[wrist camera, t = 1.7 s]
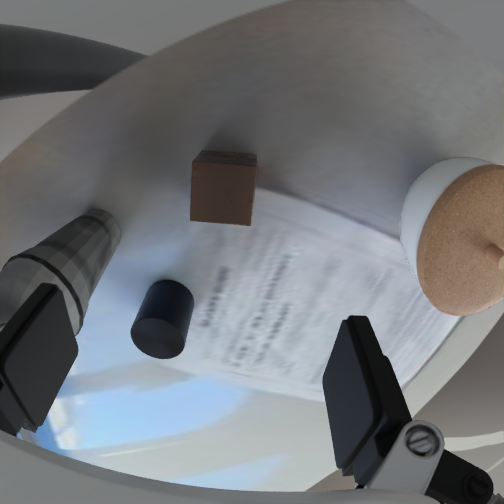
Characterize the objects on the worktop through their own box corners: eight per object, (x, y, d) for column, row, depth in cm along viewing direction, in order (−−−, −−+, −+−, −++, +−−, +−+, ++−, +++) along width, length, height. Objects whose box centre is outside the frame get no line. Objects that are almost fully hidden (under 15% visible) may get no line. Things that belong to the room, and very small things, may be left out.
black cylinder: (149, 316, 34) (134, 355, 28) (145, 277, 31) (126, 314, 26) (194, 321, 34) (185, 362, 28) (194, 282, 31) (183, 321, 26)
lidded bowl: (499, 179, 26) (570, 220, 16) (446, 277, 31) (496, 342, 22) (415, 118, 24) (494, 140, 14) (356, 239, 29) (400, 312, 20)
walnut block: (199, 201, 28) (189, 221, 24) (201, 150, 26) (192, 161, 22) (251, 205, 28) (251, 226, 24) (256, 154, 26) (257, 166, 22)
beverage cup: (93, 273, 31) (-3, 430, 13) (56, 215, 28) (-79, 347, 10) (147, 248, 30) (54, 431, 12) (108, 182, 27) (-47, 322, 9)
